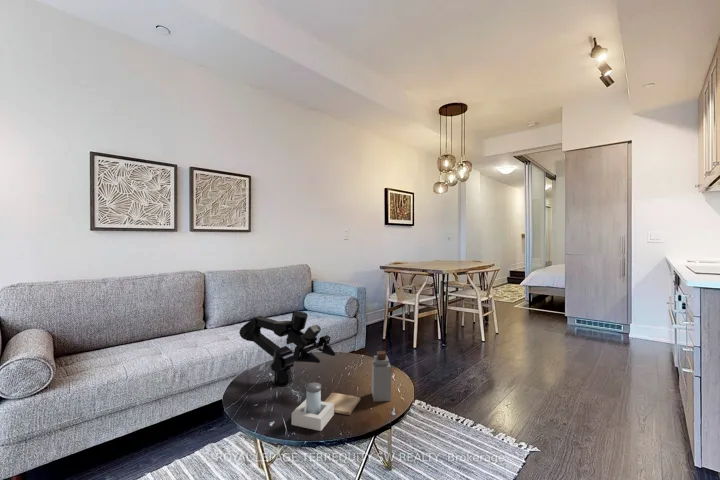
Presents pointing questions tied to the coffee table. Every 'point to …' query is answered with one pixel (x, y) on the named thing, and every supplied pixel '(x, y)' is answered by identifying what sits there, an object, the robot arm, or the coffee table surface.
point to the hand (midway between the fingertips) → (327, 358)
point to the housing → (312, 416)
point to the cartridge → (313, 398)
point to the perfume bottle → (381, 377)
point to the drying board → (343, 402)
